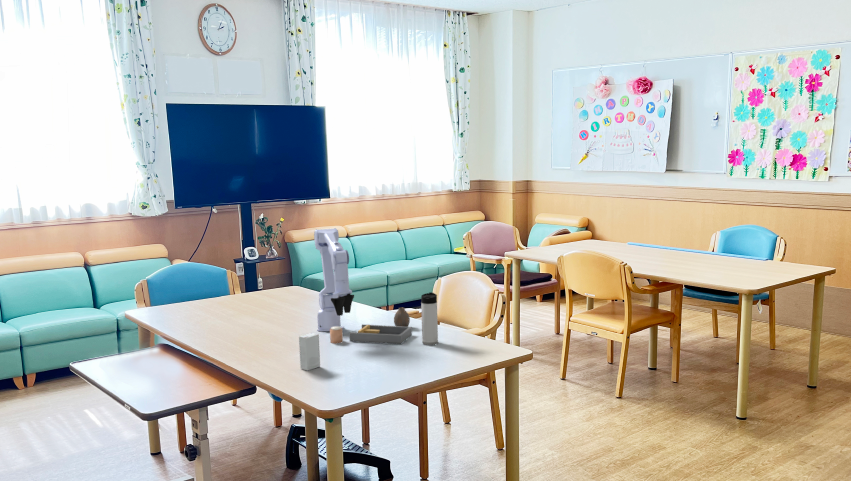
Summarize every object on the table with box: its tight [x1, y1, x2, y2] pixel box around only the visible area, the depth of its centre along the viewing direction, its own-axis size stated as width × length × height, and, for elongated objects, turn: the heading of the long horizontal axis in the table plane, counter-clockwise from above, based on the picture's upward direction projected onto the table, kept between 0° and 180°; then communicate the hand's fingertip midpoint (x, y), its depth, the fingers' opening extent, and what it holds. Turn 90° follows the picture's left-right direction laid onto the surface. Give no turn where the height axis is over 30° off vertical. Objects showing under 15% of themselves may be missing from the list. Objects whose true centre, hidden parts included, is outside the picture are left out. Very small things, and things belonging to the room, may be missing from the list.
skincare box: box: [298, 332, 321, 371], centre depth 244 cm, size 6×4×12 cm
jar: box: [329, 326, 344, 345], centre depth 278 cm, size 5×5×6 cm
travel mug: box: [420, 291, 439, 346], centre depth 272 cm, size 6×7×20 cm
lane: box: [349, 324, 413, 345], centre depth 282 cm, size 22×14×4 cm, turn 73°
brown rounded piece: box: [393, 307, 411, 327], centre depth 298 cm, size 7×7×9 cm
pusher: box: [357, 324, 380, 334], centre depth 283 cm, size 7×11×3 cm, turn 163°
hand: (343, 314), depth 276 cm, fingers open, 7 cm apart
